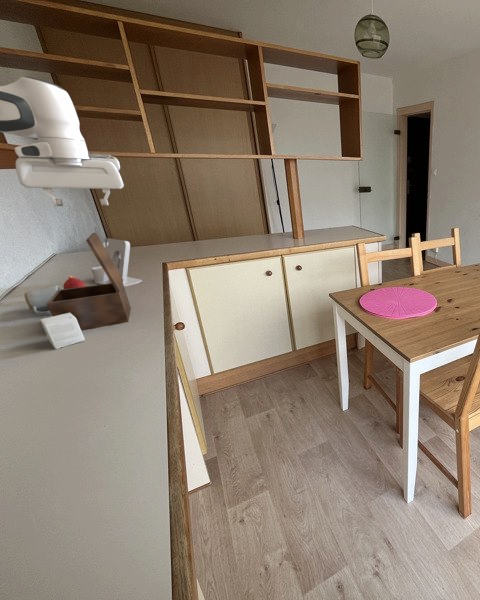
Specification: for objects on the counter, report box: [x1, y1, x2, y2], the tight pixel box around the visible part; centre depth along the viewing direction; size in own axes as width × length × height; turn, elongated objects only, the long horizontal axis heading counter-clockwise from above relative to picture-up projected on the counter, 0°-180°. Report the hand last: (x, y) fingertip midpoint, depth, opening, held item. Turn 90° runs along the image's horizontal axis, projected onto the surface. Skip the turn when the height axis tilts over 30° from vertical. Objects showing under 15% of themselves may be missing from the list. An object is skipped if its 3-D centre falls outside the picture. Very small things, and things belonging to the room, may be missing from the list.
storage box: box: [47, 283, 132, 332], centre depth 99 cm, size 16×14×10 cm
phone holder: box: [91, 237, 143, 288], centre depth 132 cm, size 17×10×18 cm, turn 67°
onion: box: [62, 275, 87, 289], centre depth 118 cm, size 6×6×8 cm
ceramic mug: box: [24, 285, 62, 316], centre depth 105 cm, size 11×8×8 cm
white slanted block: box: [39, 313, 86, 350], centre depth 86 cm, size 6×6×7 cm
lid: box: [85, 232, 123, 292], centre depth 97 cm, size 17×14×1 cm
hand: (82, 205), depth 88 cm, fingers open, 8 cm apart
